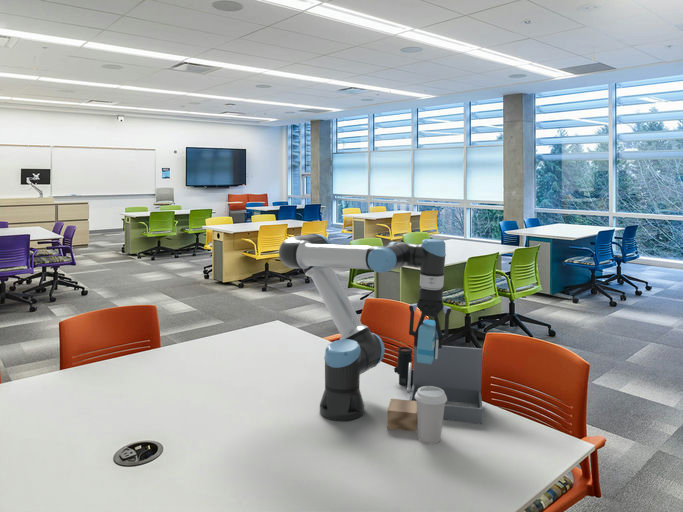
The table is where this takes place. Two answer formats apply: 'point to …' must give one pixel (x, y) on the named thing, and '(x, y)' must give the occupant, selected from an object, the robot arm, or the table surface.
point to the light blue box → (426, 342)
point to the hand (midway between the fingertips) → (427, 356)
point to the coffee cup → (430, 413)
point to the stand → (402, 415)
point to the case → (452, 380)
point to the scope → (404, 365)
